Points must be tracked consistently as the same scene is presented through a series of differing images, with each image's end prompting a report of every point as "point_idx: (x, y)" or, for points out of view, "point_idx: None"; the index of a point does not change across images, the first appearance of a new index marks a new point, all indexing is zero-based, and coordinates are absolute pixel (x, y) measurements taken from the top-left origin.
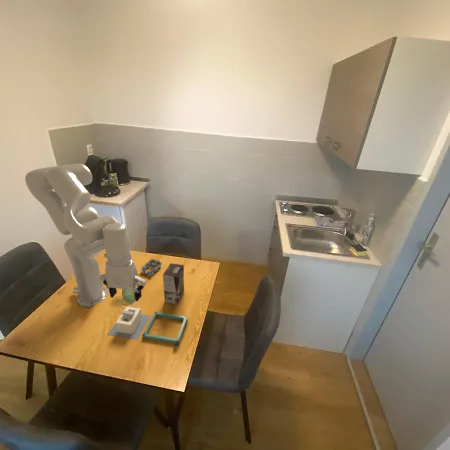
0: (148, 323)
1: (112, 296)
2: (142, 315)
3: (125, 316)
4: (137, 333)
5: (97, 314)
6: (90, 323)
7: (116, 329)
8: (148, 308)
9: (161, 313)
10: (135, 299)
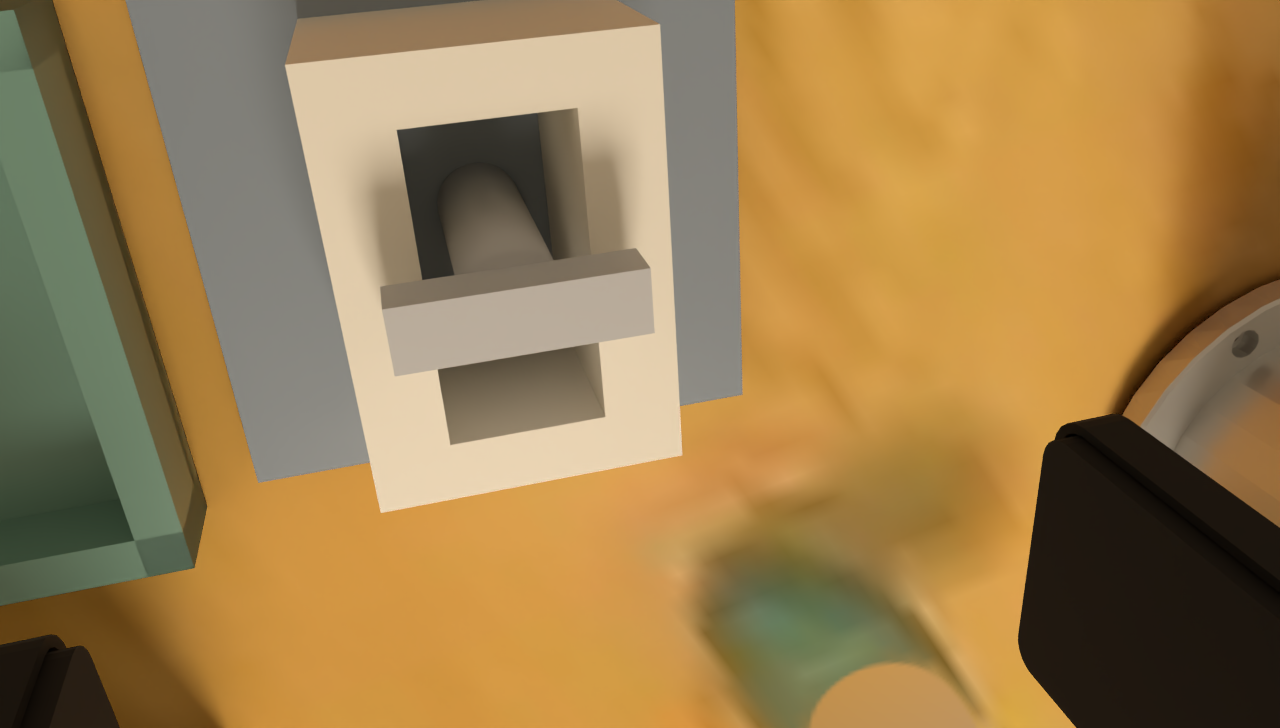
0: (109, 309)
1: (1083, 460)
2: None
3: None
4: (215, 69)
5: (1085, 220)
6: (1107, 39)
7: None
8: (418, 579)
9: (40, 580)
10: (46, 697)
